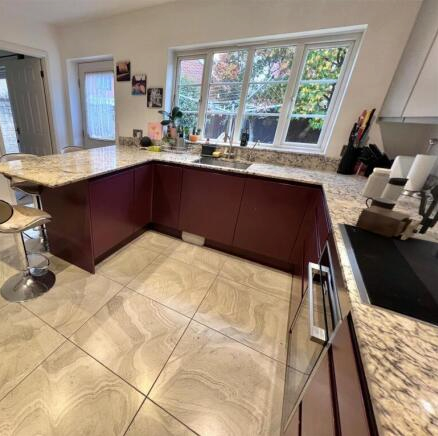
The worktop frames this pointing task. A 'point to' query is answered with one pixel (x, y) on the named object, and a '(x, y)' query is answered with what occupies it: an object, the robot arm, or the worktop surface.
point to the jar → (376, 183)
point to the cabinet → (380, 220)
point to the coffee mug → (382, 203)
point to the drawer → (406, 228)
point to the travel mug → (394, 188)
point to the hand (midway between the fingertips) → (421, 233)
